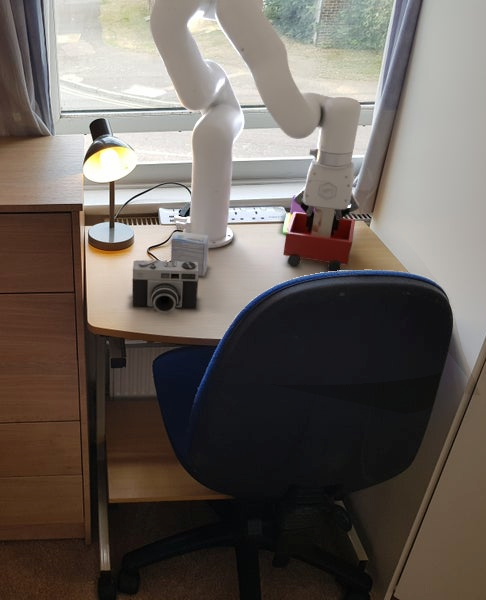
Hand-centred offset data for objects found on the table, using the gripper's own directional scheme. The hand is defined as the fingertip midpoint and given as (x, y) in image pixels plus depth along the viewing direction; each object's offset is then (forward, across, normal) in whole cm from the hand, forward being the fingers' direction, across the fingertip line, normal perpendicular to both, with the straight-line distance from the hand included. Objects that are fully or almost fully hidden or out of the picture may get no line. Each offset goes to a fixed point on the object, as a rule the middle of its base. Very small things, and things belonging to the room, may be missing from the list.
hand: (321, 230), depth 149 cm
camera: (+7, -28, -34) cm, 45 cm away
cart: (+7, 0, 0) cm, 7 cm away
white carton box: (+2, 0, 0) cm, 2 cm away
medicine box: (+7, -27, -17) cm, 33 cm away
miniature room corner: (+7, -4, +15) cm, 17 cm away
